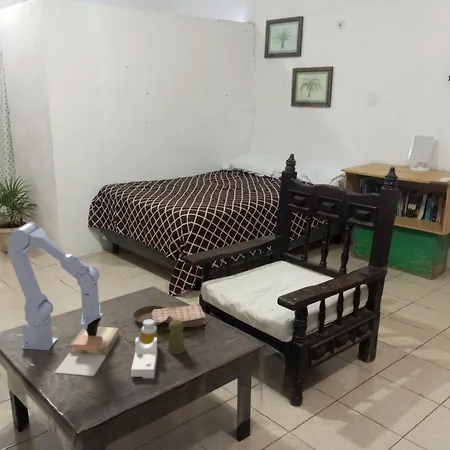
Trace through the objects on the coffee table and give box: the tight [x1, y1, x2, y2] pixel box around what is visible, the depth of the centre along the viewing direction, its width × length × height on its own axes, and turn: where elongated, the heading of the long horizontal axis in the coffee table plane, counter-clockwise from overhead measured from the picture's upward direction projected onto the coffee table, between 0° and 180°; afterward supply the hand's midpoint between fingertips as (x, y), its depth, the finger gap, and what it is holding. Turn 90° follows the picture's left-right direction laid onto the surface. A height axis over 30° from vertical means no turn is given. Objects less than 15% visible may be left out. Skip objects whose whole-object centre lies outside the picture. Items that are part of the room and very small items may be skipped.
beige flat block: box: [69, 326, 120, 356], centre depth 176 cm, size 13×14×3 cm
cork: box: [167, 319, 186, 355], centre depth 172 cm, size 6×6×11 cm
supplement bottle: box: [140, 319, 158, 344], centre depth 174 cm, size 5×5×10 cm
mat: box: [54, 352, 107, 377], centre depth 164 cm, size 13×12×1 cm
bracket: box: [130, 336, 158, 379], centre depth 162 cm, size 13×7×8 cm, turn 3°
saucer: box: [132, 305, 166, 326], centre depth 195 cm, size 15×15×3 cm
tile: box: [74, 335, 103, 351], centre depth 169 cm, size 8×6×2 cm
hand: (92, 337), depth 173 cm, fingers closed
